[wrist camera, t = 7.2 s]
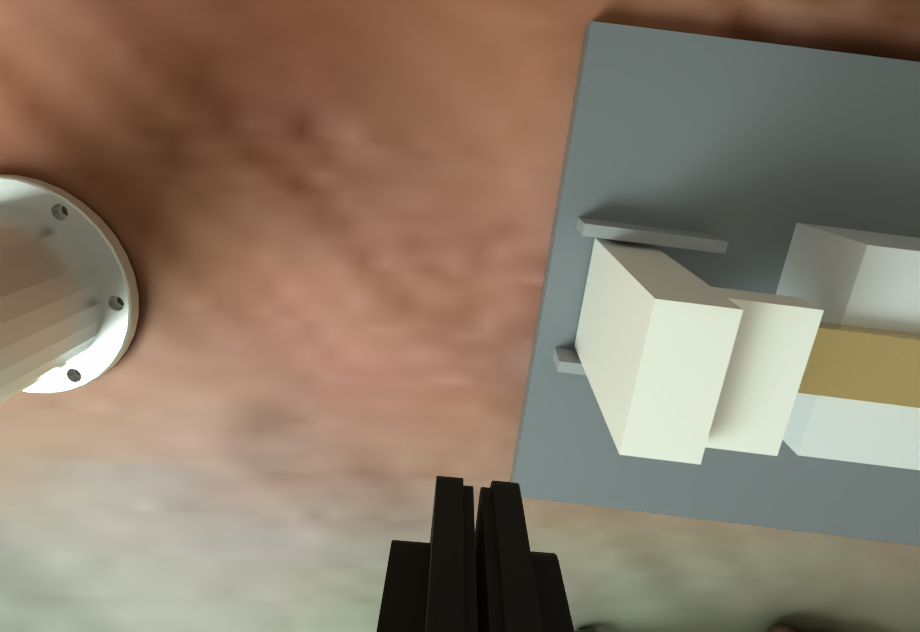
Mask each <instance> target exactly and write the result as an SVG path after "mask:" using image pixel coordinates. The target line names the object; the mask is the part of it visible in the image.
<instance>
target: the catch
mask: <svg viewBox="0 0 920 632" xmlns="http://www.w3.org/2000/svg"><path fill="white" fill-rule="evenodd" d="M823 312H824V310H823V309H821V308H819V307H817V306H816V305H814V304H812V303H810V302H808V301H806V300H805V299H803V298H799V297H791V296H783V295H775V294H767V293H759V292H751V291H742V290H734V289H726V288H718V287H711V286H710V285H708V284H707V283H705V282H704V281H703V280H701V279H700V278H698V277H697V276H695V275H694V274H693V273H691V272H690V271H688V270H687V269H686V268H684V267H683V266H681V265H680V264H679V263H677V262H676V261H674V260H673V259H672V258H670V257H669V256H667V255H666V254H665V253H663V252H662V251H660V250H659V249H658V248H656V247H655V246H653V245H649V244H641V243H633V242H625V241H617V240H609V239H601V238H595V240H594V245H593V250H592V256H591V261H590V266H589V271H588V277H587V282H586V287H585V293H584V298H583V303H582V308H581V314H580V319H579V324H578V329H577V335H576V340H575V345H574V346H575V349H576V351H577V354H578V356H579V358H580V361H581V363H582V366H583V368H584V370H585V373H586V375H587V378H588V380H589V383H590V385H591V387H592V390H593V392H594V395H595V397H596V399H597V402H598V404H599V407H600V409H601V411H602V414H603V416H604V419H605V421H606V424H607V426H608V428H609V431H610V433H611V436H612V438H613V440H614V443H615V445H616V448H617V450H618V453H619V455H626V456H634V457H642V458H650V459H659V460H667V461H675V462H683V463H691V464H699V465H701V461H702V457H703V454H704V450H705V447H707V448H715V449H723V450H731V451H739V452H747V453H755V454H764V455H772V456H777V455H778V452H779V449H780V446H781V443H782V440H783V436H784V433H785V430H786V427H787V424H788V421H789V418H790V415H791V412H792V408H793V405H794V402H795V399H796V396H797V393H798V390H799V387H800V383H801V380H802V377H803V374H804V371H805V368H806V365H807V362H808V359H809V355H810V352H811V349H812V346H813V343H814V340H815V337H816V334H817V330H818V327H819V324H820V321H821V318H822V315H823Z"/></svg>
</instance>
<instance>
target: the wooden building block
mask: <svg viewBox="0 0 920 632" xmlns="http://www.w3.org/2000/svg"><path fill="white" fill-rule="evenodd" d="M798 393H803V394H811V395H819V396H827V397H835V398H843V399H851V400H859V401H867V402H875V403H883V404H891V405H899V406H907V407H915V408H920V334H914V333H906V332H898V331H890V330H882V329H874V328H866V327H858V326H850V325H842V324H834V323H826V322H820V324H819V327H818V330H817V334H816V337H815V340H814V343H813V346H812V349H811V352H810V355H809V359H808V362H807V365H806V368H805V371H804V374H803V377H802V380H801V383H800V387H799V390H798Z"/></svg>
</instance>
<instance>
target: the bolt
mask: <svg viewBox="0 0 920 632" xmlns="http://www.w3.org/2000/svg"><path fill="white" fill-rule="evenodd" d="M767 632H799V631H797V630H793V629H792V628H789V627H787V626H784V625H782V624H778V625H775V626H773V627H771V628H770V629H769V630H768V631H767ZM818 632H826V631H823V630H820V631H818Z"/></svg>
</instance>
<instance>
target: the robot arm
mask: <svg viewBox="0 0 920 632" xmlns="http://www.w3.org/2000/svg"><path fill="white" fill-rule="evenodd" d="M138 317H139V294H138V289H137V284H136V278H135V274H134V272H133V269H132V267H131V264H130V261H129V259H128V256H127V254H126V252H125V251H124V249H123V247H122V246H121V244H120V242H119V241H118V239H117V237H116V236H115V234H114V233H113V232H112V231H111V230H110V228H109V227H108V226H107V225H106V224H105V222H104V221H103V220H102V219H101V218H100V217H99V216H98V215H97V214H96V213H95V212H93V211H92V210H91V209H90V208H89V207H88V206H87V205H85V204H84V203H83V202H82V201H80V200H79V199H77V198H76V197H74V196H72V195H71V194H69V193H67V192H66V191H64V190H63V189H61V188H58V187H56V186H53V185H51V184H49V183H46V182H44V181H41V180H38V179H33V178H29V177H24V176H20V175H0V403H2V402H4V401H5V400H7V399H9V398H10V397H12V396H14V395H16V394H17V393H19V392H21V391H24V392H29V393H48V394H51V393H58V392H65V391H70V390H73V389H76V388H79V387H81V386H84V385H87V384H89V383H90V382H92V381H94V380H95V379H97V378H98V377H100V376H102V375H103V374H104V373H106V372H107V371H108V370H109V369H111V368H112V367H113V366H114V365H116V364H117V363H118V361H119V360H120V359H121V358H122V356H123V355H124V354H125V352H126V351H127V350H128V348H129V345H130V343H131V341H132V339H133V337H134V335H135V331H136V326H137V322H138ZM377 632H574V628H573V624H572V619H571V615H570V610H569V606H568V601H567V597H566V592H565V588H564V583H563V579H562V574H561V570H560V566H559V561H558V558H557V556H556V554H555V553H543V552H531V551H530V547H529V541H528V535H527V528H526V522H525V516H524V510H523V504H522V498H521V491H520V486H519V483H513V482H501V481H492V482H491V486H490V488H486V487H481V490H480V496H479V504H478V512H477V520H476V528H475V526H474V497H473V486H463V478H455V477H443V476H437V478H436V488H435V498H434V508H433V518H432V528H431V538H430V543H422V542H410V541H398V540H392V543H391V549H390V555H389V561H388V567H387V573H386V579H385V585H384V591H383V597H382V603H381V609H380V615H379V621H378V627H377Z"/></svg>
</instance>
